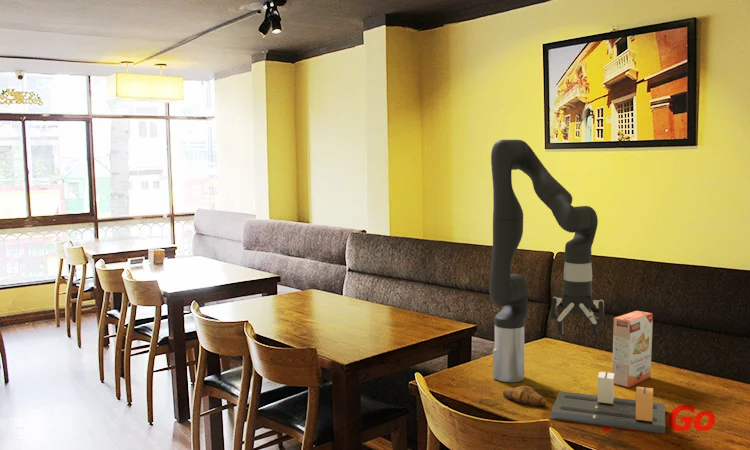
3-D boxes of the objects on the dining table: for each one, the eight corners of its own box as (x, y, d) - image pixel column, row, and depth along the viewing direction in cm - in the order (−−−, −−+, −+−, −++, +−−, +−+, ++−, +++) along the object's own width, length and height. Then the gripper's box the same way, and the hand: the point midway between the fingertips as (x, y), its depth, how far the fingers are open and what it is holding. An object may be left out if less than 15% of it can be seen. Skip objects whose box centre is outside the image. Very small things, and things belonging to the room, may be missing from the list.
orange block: (635, 419, 166) (636, 392, 166) (636, 412, 171) (636, 386, 170) (652, 421, 165) (653, 394, 164) (652, 414, 169) (653, 387, 169)
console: (550, 419, 173) (550, 411, 173) (559, 396, 189) (559, 389, 189) (665, 435, 162) (665, 426, 162) (664, 409, 178) (664, 402, 178)
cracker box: (629, 389, 194) (630, 320, 192) (611, 383, 199) (612, 317, 197) (652, 377, 203) (653, 312, 201) (634, 373, 208) (635, 309, 206)
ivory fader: (597, 401, 178) (597, 376, 178) (598, 395, 183) (599, 371, 182) (612, 403, 177) (613, 378, 176) (613, 397, 181) (614, 372, 181)
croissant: (551, 404, 184) (551, 387, 184) (539, 411, 180) (539, 394, 179) (510, 393, 194) (510, 377, 193) (497, 399, 189) (497, 383, 188)
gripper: (549, 279, 179) (549, 336, 181) (604, 282, 174) (603, 341, 175) (553, 274, 186) (552, 329, 188) (605, 277, 180) (604, 333, 182)
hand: (577, 335), depth 181 cm, fingers open, 8 cm apart
